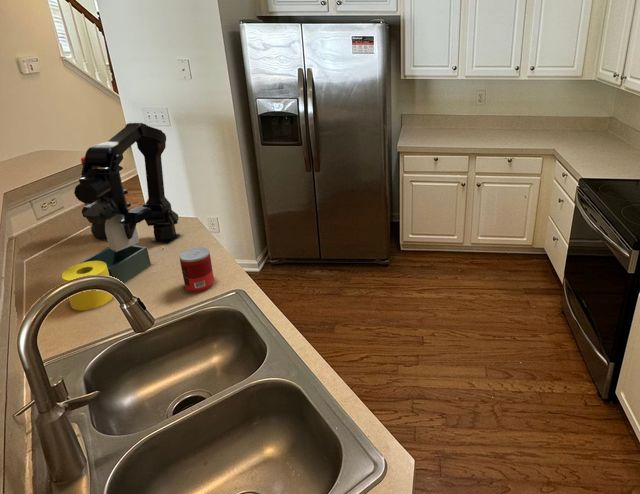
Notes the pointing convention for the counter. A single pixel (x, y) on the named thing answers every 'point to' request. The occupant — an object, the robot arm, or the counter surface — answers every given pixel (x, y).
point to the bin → (123, 261)
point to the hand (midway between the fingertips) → (123, 237)
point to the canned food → (197, 269)
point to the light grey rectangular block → (119, 234)
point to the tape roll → (89, 297)
